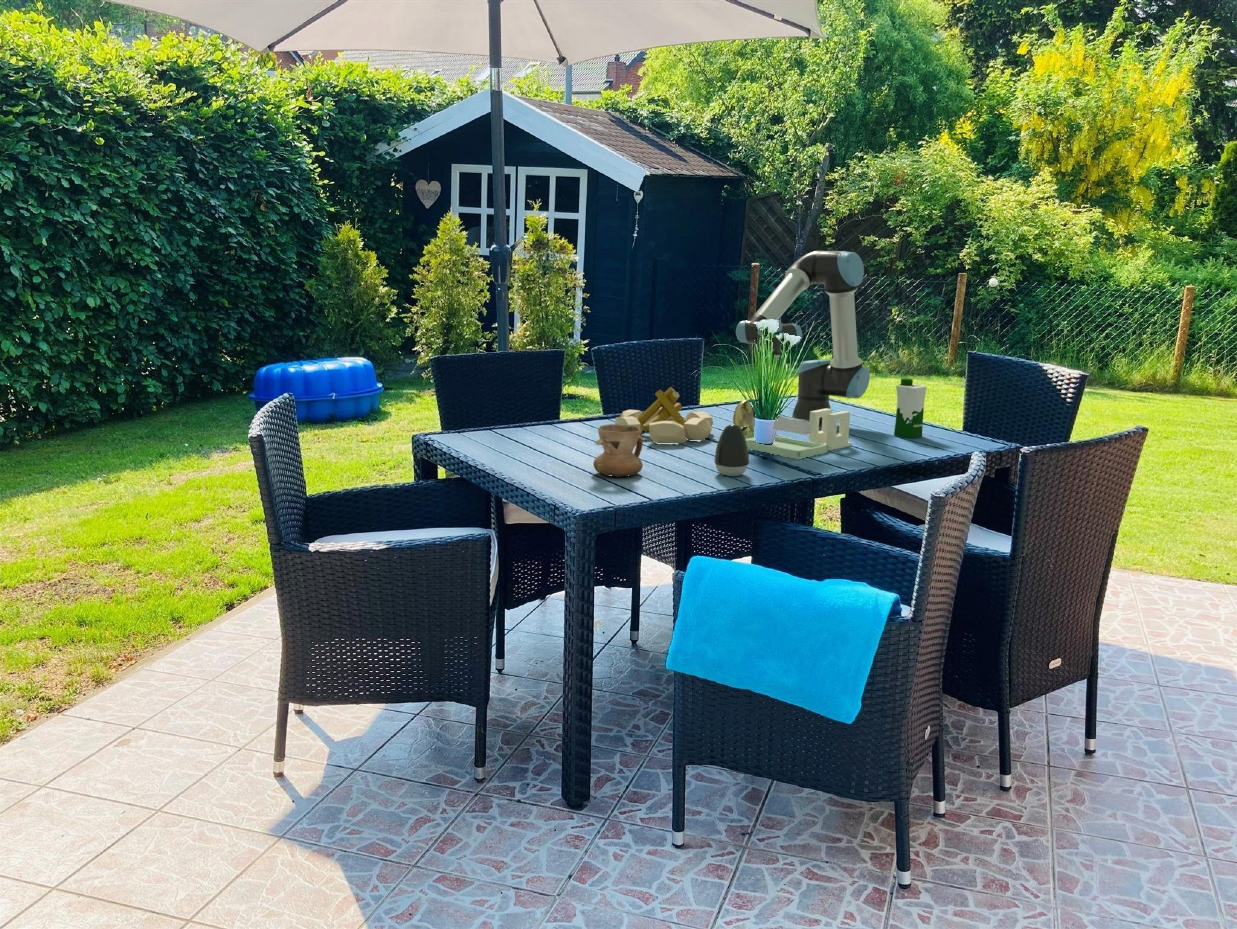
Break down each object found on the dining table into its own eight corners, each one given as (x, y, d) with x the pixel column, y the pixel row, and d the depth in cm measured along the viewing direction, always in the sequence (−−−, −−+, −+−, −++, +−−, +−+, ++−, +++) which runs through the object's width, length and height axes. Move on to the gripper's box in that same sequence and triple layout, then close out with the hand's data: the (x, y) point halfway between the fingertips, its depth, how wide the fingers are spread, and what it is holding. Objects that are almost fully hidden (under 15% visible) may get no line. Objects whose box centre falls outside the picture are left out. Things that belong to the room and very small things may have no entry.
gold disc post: (727, 435, 363) (729, 400, 360) (749, 431, 371) (751, 396, 369) (796, 448, 344) (798, 411, 341) (818, 443, 352) (820, 407, 350)
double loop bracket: (804, 445, 364) (805, 411, 361) (824, 440, 372) (826, 407, 369) (831, 450, 356) (833, 416, 353) (851, 445, 364) (854, 411, 362)
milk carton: (904, 432, 388) (908, 377, 383) (926, 436, 381) (930, 380, 377) (890, 435, 382) (893, 379, 378) (911, 439, 375) (916, 382, 371)
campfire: (728, 433, 384) (729, 386, 380) (689, 450, 355) (690, 399, 351) (640, 423, 400) (641, 378, 396) (596, 439, 370) (596, 390, 367)
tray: (752, 438, 374) (752, 431, 373) (827, 452, 353) (827, 445, 352) (722, 444, 363) (722, 437, 362) (798, 459, 341) (799, 451, 341)
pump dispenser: (756, 476, 319) (758, 425, 315) (728, 480, 313) (730, 428, 310) (734, 469, 327) (736, 420, 324) (707, 473, 322) (708, 423, 318)
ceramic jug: (611, 483, 308) (613, 434, 305) (579, 473, 319) (581, 426, 316) (657, 475, 320) (660, 428, 317) (625, 466, 330) (627, 420, 327)
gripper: (761, 370, 346) (758, 442, 351) (792, 366, 358) (789, 435, 363) (743, 368, 351) (740, 438, 356) (774, 363, 363) (771, 432, 368)
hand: (765, 436), depth 360 cm, fingers closed on gold disc post, 3 cm apart
